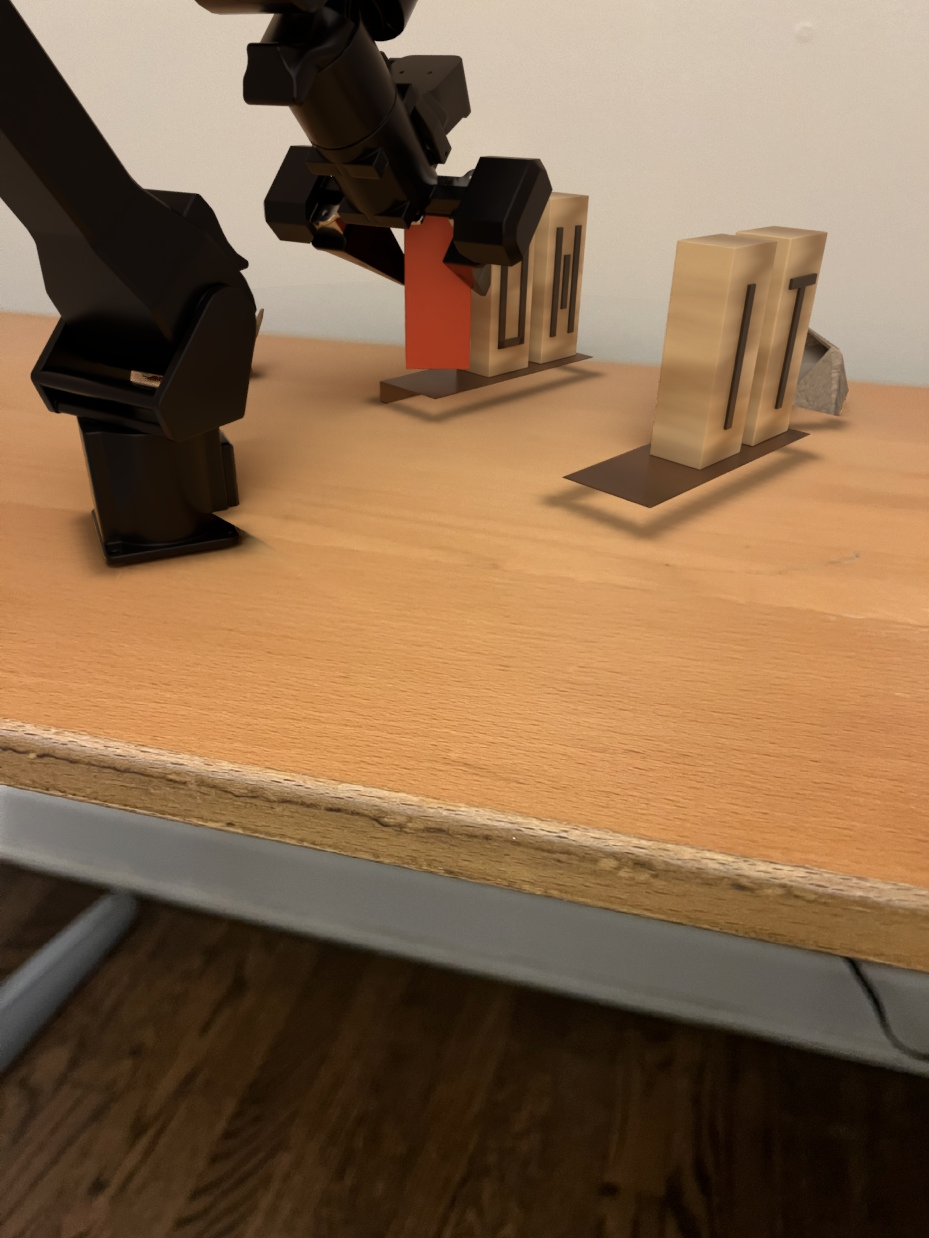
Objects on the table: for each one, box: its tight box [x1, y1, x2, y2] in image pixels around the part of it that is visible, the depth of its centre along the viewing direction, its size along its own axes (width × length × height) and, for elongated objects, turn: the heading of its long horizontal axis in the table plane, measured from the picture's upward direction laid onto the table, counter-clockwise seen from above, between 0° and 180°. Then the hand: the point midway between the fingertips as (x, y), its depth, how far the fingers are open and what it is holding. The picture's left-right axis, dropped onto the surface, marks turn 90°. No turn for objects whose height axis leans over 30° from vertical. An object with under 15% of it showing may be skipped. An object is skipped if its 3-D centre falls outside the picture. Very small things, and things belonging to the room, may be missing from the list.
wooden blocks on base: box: [379, 191, 594, 404], centre depth 69 cm, size 18×6×14 cm, turn 135°
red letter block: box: [403, 216, 471, 370], centre depth 64 cm, size 4×5×12 cm
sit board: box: [562, 225, 828, 509], centre depth 52 cm, size 18×6×14 cm, turn 135°
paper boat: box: [792, 326, 849, 417], centre depth 67 cm, size 12×6×9 cm
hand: (446, 285), depth 65 cm, fingers closed on red letter block, 6 cm apart
